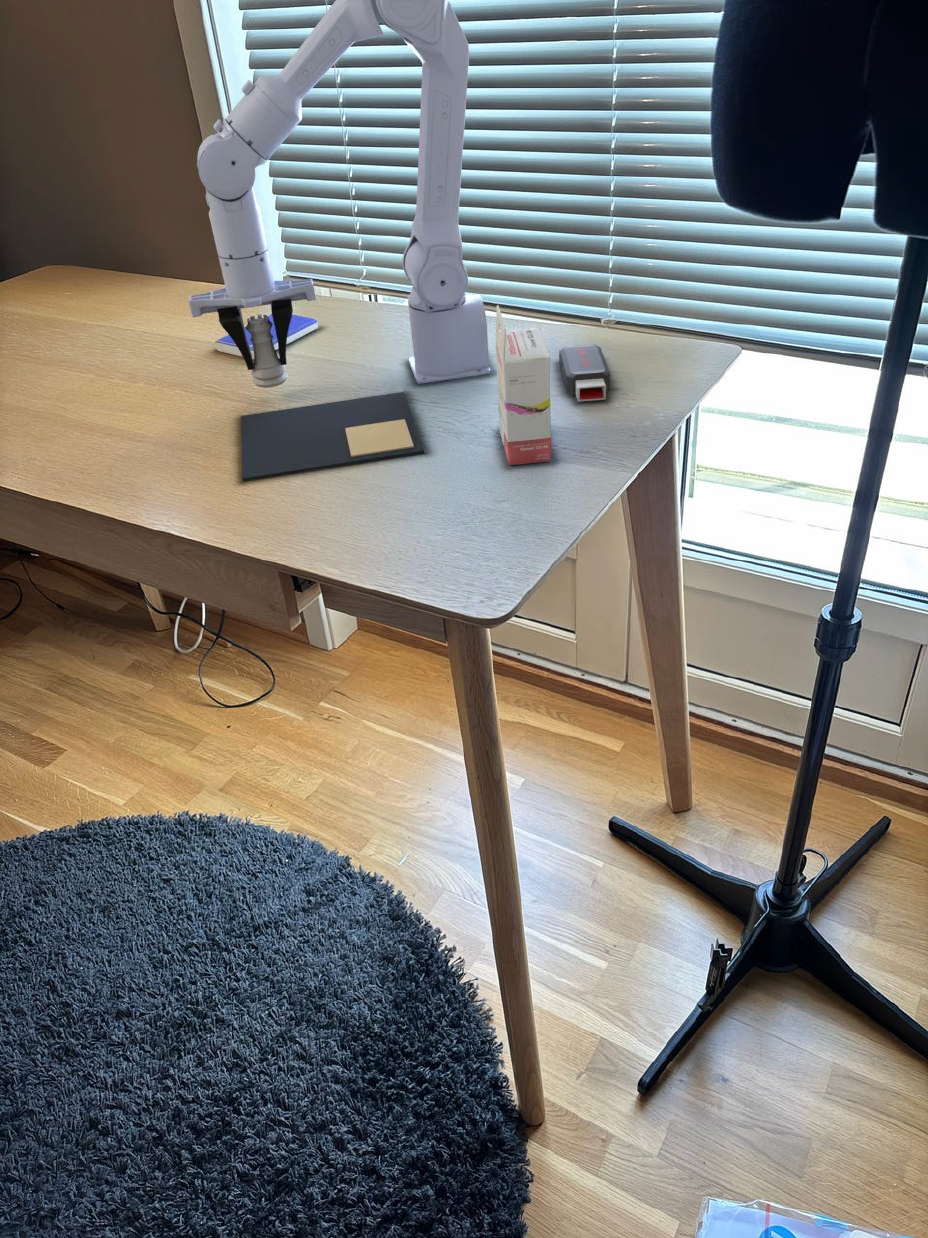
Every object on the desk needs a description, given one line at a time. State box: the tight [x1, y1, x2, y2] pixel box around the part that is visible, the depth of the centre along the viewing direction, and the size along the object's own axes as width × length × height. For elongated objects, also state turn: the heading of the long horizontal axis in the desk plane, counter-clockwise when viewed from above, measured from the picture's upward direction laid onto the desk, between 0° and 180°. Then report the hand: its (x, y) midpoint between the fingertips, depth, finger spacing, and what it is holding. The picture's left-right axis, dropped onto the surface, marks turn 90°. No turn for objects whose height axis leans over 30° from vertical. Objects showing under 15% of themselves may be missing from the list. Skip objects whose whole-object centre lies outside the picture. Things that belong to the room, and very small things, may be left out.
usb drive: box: [558, 344, 611, 402], centre depth 117 cm, size 5×12×3 cm, turn 1°
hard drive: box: [214, 313, 319, 360], centre depth 136 cm, size 2×8×12 cm
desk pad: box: [240, 391, 425, 482], centre depth 111 cm, size 20×16×1 cm
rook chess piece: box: [245, 313, 289, 389], centre depth 117 cm, size 4×4×8 cm
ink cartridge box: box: [494, 304, 552, 466], centre depth 101 cm, size 9×5×15 cm, turn 5°
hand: (266, 364), depth 118 cm, fingers closed on rook chess piece, 3 cm apart
